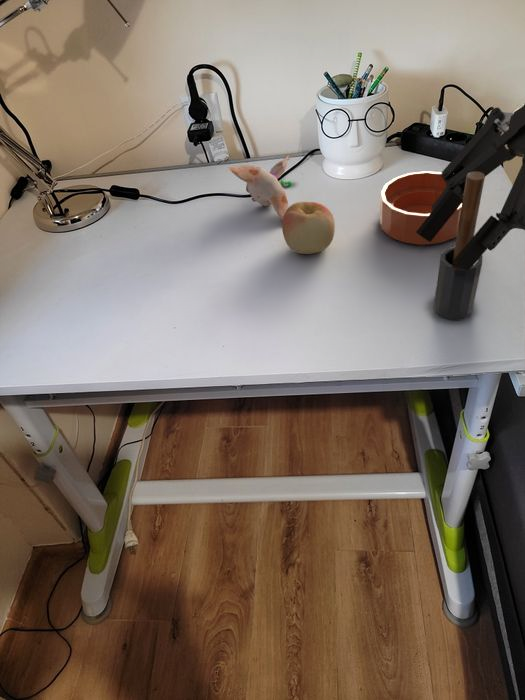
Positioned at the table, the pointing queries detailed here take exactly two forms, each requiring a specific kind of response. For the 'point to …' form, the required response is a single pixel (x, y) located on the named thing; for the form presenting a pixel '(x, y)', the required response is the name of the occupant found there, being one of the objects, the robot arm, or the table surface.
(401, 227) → the bowl
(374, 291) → the table surface
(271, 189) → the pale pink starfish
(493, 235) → the robot arm
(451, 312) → the utensil pot
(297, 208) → the apple
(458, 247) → the stick
